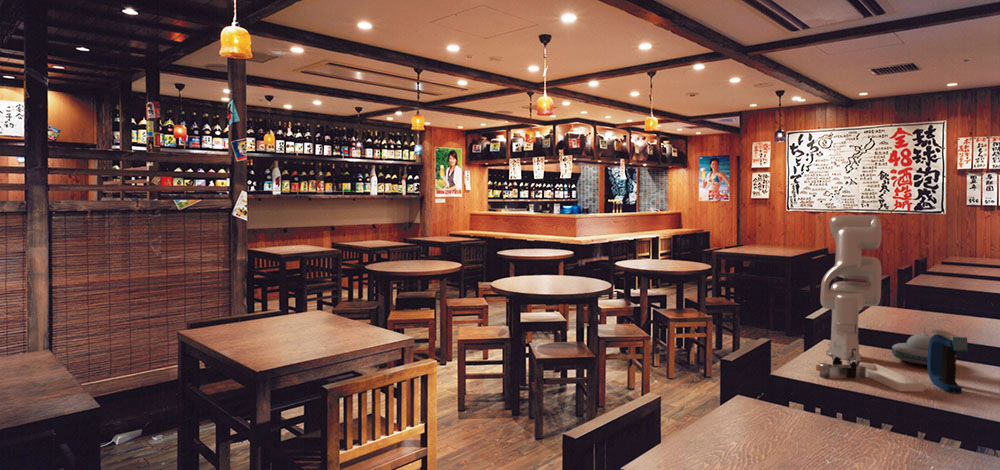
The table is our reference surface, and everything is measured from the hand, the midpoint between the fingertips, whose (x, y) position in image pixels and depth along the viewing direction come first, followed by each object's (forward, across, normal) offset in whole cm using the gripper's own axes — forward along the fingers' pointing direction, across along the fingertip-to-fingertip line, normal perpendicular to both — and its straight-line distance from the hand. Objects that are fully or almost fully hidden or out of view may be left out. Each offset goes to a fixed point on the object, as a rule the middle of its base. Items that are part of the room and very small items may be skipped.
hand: (843, 374), depth 199 cm
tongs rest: (+1, +4, +13) cm, 14 cm away
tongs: (+1, 0, -2) cm, 2 cm away
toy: (+1, -17, +43) cm, 46 cm away
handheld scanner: (+1, +12, +28) cm, 30 cm away
